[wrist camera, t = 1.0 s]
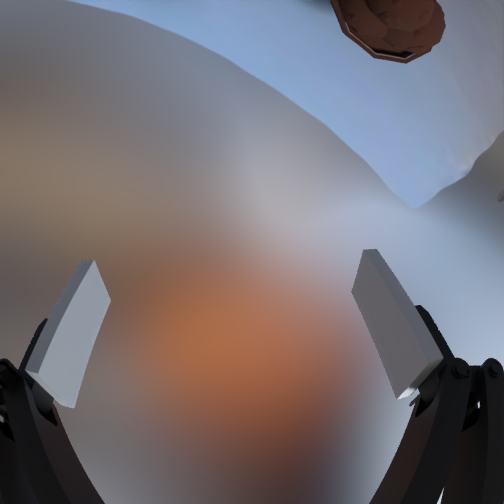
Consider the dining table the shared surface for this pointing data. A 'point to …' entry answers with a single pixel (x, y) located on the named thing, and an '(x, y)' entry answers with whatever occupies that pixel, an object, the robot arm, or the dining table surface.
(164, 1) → the dining table surface
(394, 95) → the dining table surface
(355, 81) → the dining table surface
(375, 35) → the ice cream bowl
